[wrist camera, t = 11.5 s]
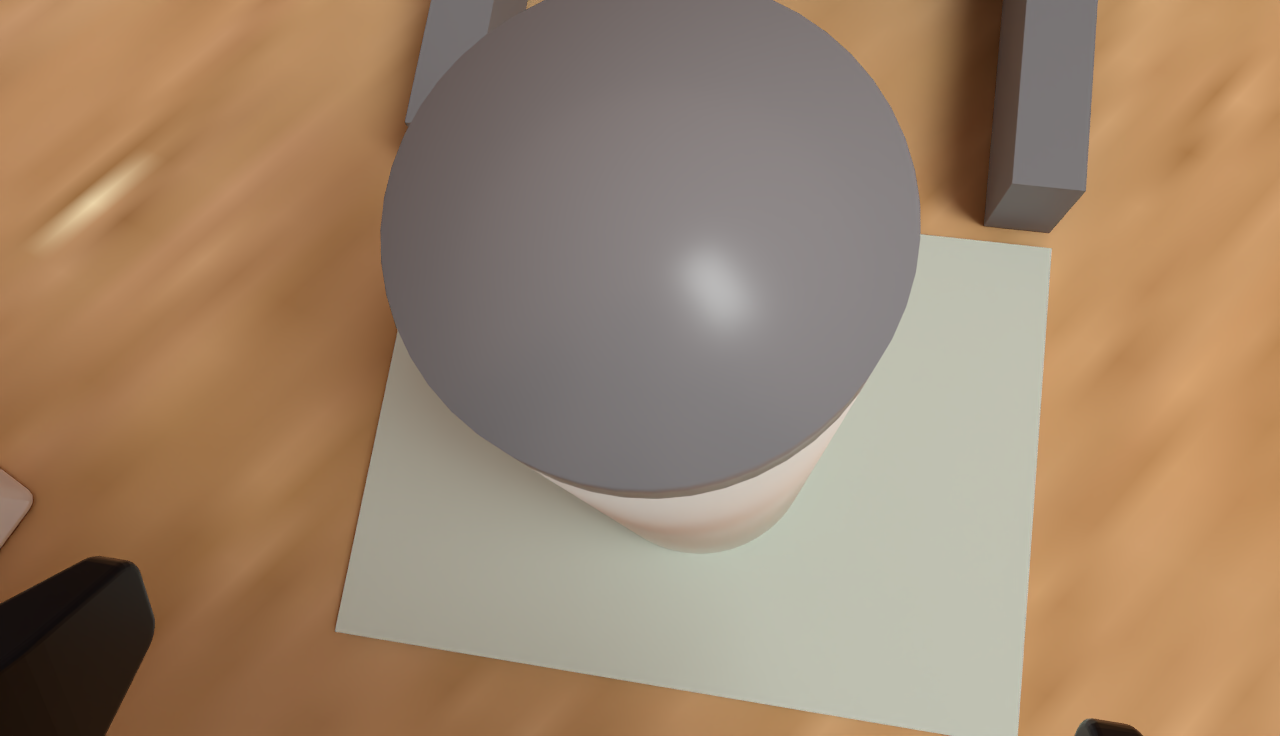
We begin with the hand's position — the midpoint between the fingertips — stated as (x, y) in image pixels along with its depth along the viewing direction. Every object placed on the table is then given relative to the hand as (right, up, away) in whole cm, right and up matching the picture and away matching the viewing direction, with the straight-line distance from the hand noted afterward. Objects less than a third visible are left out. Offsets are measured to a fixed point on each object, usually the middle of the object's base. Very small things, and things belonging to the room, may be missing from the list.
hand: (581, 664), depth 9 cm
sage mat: (+2, +1, +14) cm, 14 cm away
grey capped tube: (+2, +1, +13) cm, 14 cm away
